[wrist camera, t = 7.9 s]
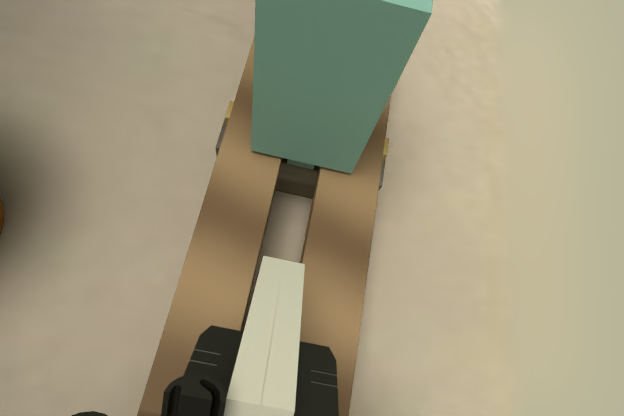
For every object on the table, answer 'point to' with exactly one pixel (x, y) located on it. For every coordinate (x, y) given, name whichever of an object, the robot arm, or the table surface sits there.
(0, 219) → the disposable coffee cup
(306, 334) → the brown flat slatted piece
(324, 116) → the block
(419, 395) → the table surface
